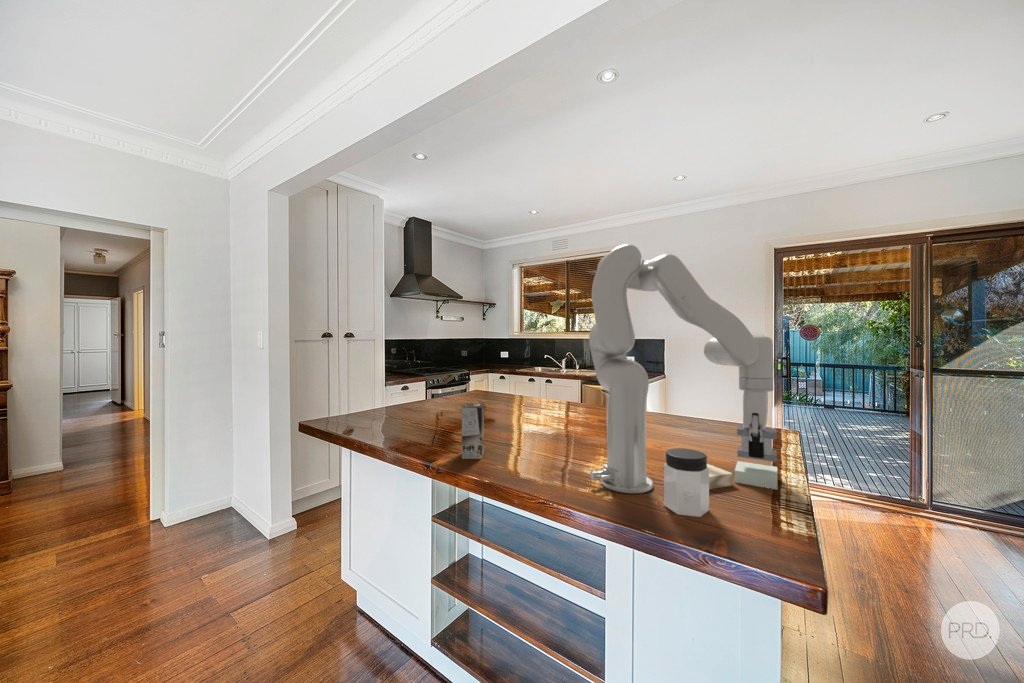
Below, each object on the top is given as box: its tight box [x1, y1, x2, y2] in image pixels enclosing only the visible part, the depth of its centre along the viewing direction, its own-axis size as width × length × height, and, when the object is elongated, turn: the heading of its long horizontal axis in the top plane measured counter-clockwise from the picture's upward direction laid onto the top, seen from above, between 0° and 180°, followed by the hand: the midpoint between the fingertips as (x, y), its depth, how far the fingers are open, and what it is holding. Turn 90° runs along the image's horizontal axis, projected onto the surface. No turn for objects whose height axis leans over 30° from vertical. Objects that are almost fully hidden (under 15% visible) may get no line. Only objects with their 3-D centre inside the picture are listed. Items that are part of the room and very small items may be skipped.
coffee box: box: [461, 402, 485, 460], centre depth 124 cm, size 9×6×16 cm
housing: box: [736, 424, 778, 463], centre depth 99 cm, size 8×5×7 cm, turn 55°
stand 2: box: [734, 460, 778, 490], centre depth 99 cm, size 9×9×3 cm
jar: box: [663, 447, 710, 518], centre depth 83 cm, size 9×8×12 cm
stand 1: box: [707, 463, 734, 490], centre depth 99 cm, size 9×9×3 cm
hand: (756, 453), depth 99 cm, fingers closed on housing, 5 cm apart
